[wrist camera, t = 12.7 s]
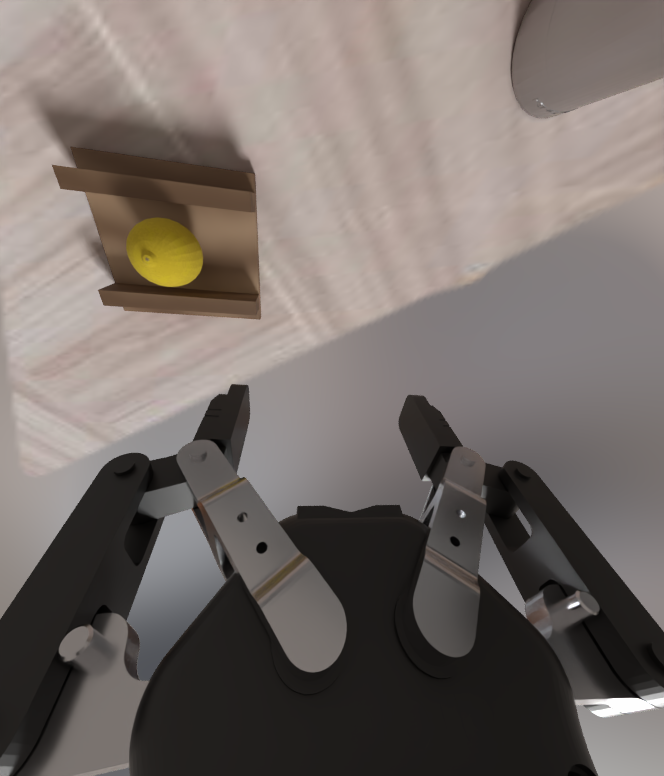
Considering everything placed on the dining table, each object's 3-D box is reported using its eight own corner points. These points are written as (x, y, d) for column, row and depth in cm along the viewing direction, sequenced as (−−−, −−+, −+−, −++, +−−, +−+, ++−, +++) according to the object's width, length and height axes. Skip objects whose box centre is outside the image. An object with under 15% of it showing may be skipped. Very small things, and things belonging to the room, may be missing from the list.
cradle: (78, 148, 23) (42, 139, 20) (255, 174, 25) (249, 169, 22) (128, 307, 31) (108, 319, 28) (260, 316, 33) (257, 328, 30)
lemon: (219, 238, 27) (194, 245, 20) (202, 287, 29) (174, 308, 23) (161, 204, 25) (112, 199, 18) (148, 259, 27) (100, 273, 21)
